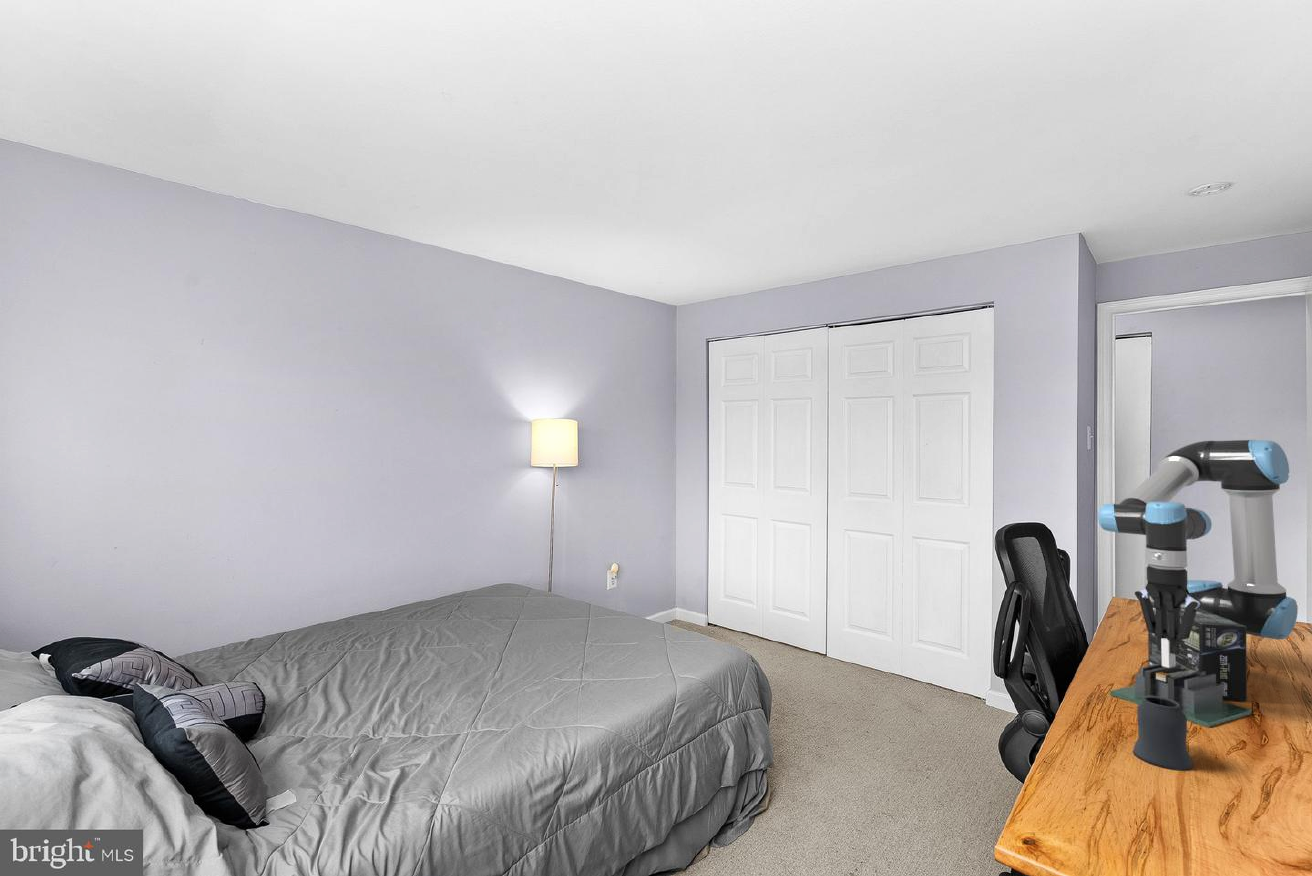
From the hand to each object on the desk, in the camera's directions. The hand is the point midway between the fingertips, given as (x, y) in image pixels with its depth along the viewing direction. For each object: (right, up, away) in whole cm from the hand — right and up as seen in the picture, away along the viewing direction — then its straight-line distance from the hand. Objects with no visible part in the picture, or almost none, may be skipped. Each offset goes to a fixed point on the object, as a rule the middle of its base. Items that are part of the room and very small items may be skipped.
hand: (1168, 665), depth 147 cm
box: (+19, -11, +15) cm, 26 cm away
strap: (+4, -3, +2) cm, 5 cm away
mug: (-22, -9, -25) cm, 35 cm away
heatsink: (+3, -10, +1) cm, 10 cm away
